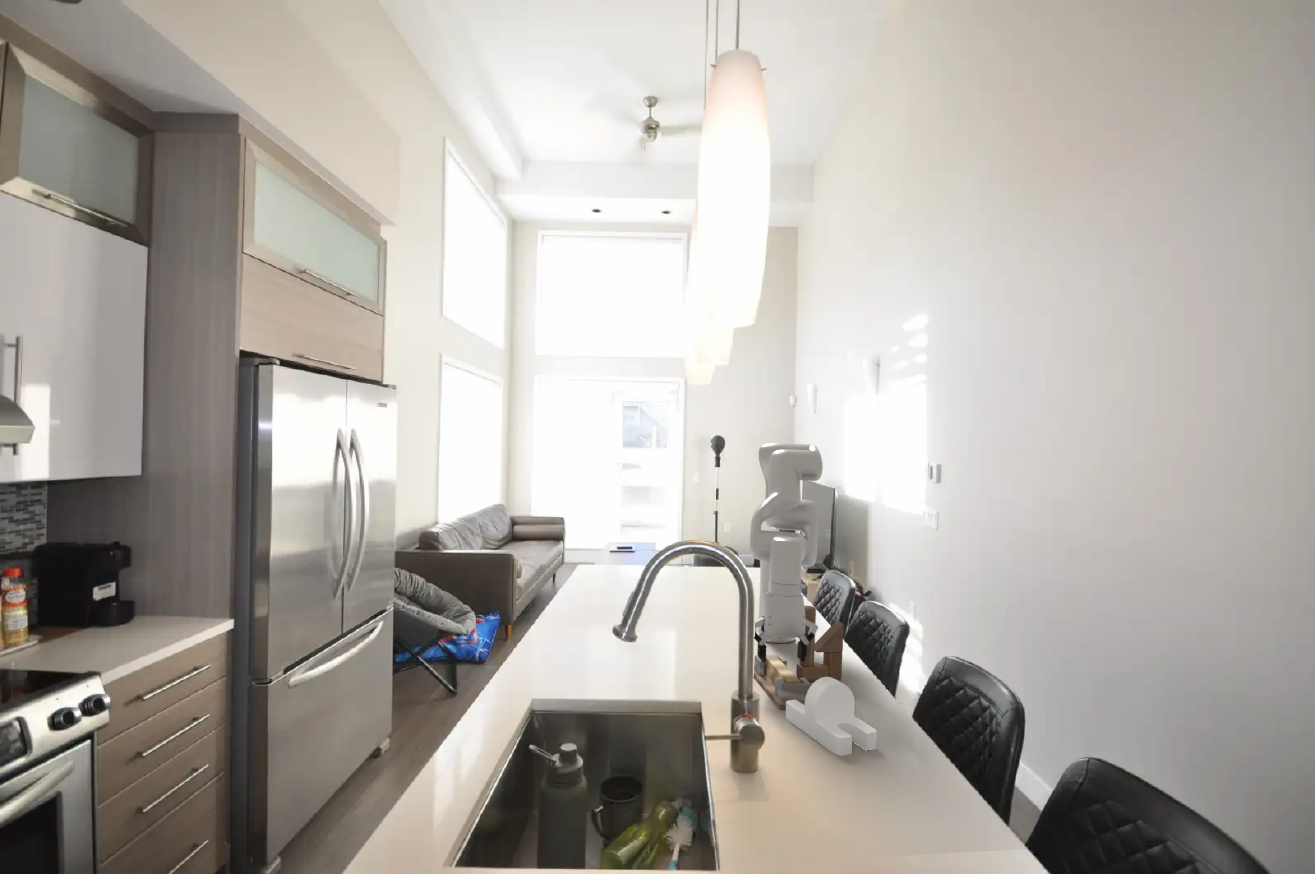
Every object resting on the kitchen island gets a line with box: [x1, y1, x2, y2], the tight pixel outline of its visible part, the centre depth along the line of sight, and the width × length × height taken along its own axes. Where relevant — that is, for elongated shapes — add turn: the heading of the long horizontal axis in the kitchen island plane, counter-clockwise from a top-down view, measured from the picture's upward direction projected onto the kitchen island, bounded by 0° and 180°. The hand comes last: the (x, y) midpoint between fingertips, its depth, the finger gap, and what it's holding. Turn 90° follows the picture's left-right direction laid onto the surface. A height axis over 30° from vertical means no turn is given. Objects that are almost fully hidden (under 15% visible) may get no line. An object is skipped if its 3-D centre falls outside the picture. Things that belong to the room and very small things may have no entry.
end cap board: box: [753, 654, 812, 710], centre depth 149 cm, size 24×9×4 cm, turn 8°
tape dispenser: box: [785, 677, 878, 757], centre depth 126 cm, size 10×18×11 cm, turn 23°
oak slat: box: [765, 657, 800, 685], centre depth 148 cm, size 16×3×4 cm, turn 8°
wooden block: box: [795, 605, 844, 682], centre depth 157 cm, size 4×11×18 cm, turn 102°
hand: (781, 660), depth 150 cm, fingers open, 9 cm apart
